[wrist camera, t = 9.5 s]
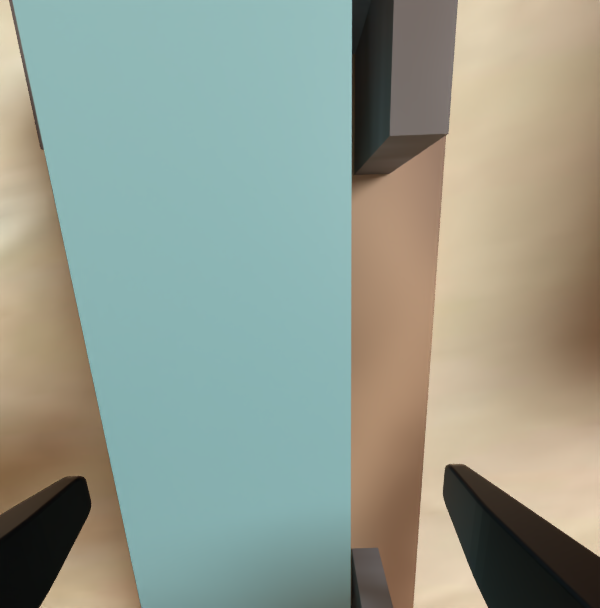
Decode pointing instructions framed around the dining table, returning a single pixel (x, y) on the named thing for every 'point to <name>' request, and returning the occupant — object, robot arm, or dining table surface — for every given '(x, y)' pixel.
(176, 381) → the slat
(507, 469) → the dining table surface
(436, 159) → the cradle
